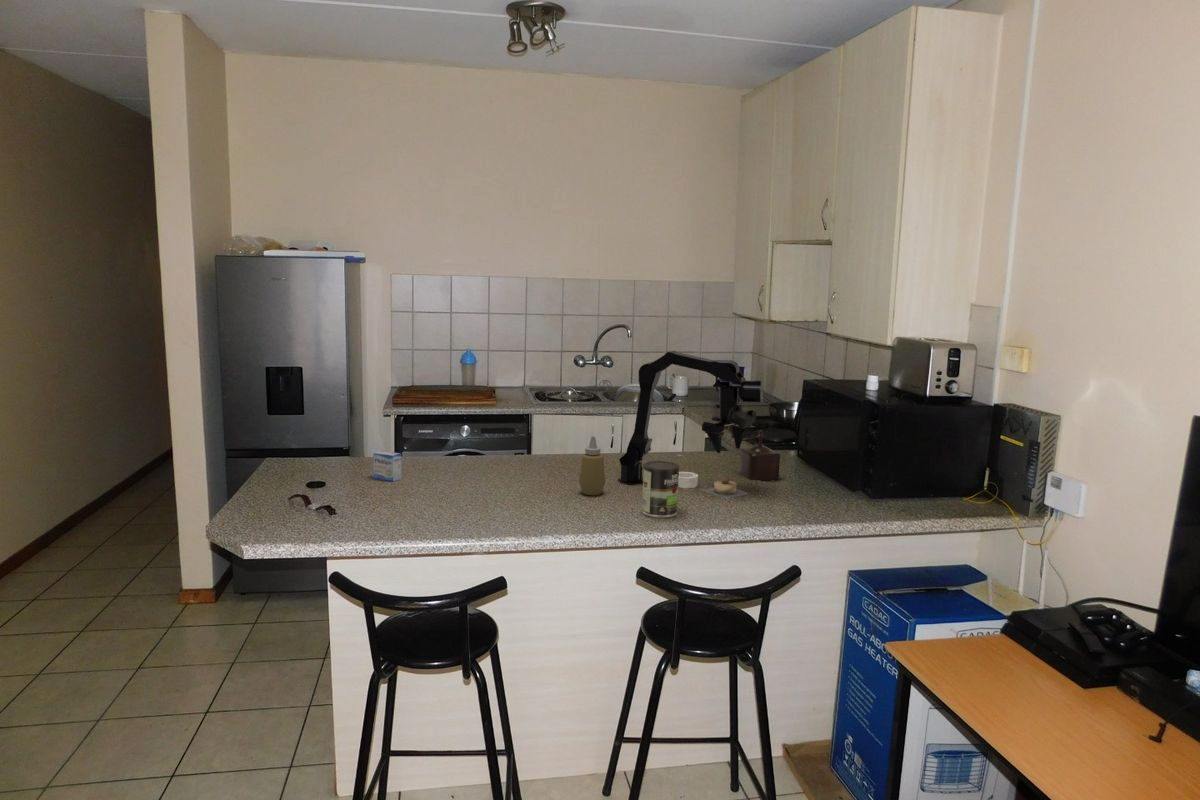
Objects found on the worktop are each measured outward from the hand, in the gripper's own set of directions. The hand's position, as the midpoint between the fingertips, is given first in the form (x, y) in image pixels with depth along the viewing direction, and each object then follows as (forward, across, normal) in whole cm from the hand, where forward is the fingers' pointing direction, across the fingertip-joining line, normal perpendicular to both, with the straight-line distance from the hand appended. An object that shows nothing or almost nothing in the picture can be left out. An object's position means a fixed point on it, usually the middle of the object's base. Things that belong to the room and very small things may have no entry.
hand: (728, 450), depth 249 cm
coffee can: (+13, -32, -1) cm, 34 cm away
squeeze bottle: (+12, -35, +25) cm, 45 cm away
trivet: (+14, -1, 0) cm, 14 cm away
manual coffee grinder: (+14, +21, +8) cm, 26 cm away
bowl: (+13, -6, +13) cm, 20 cm away
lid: (+13, -1, 0) cm, 13 cm away
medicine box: (+9, -78, +76) cm, 110 cm away
